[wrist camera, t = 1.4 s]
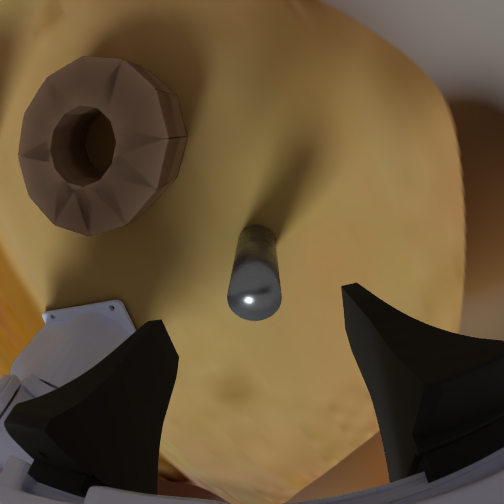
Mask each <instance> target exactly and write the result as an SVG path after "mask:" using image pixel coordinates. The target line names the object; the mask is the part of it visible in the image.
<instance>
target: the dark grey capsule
mask: <svg viewBox="0 0 504 504" xmlns="http://www.w3.org/2000/svg"><path fill="white" fill-rule="evenodd" d="M227 300H228V304H229V306H230V308H231V310H232V311H233V312H234V313H235V314H236V315H238V316H239V317H241V318H243V319H246V320H251V321H258V320H263V319H266V318H268V317H270V316H272V315H273V314H274V313H275V312H276V311H277V310H278V308H279V307H280V304H281V300H282V296H281V287H280V278H279V269H278V260H277V251H276V243H275V237H274V235H273V233H272V232H271V231H270V230H269V229H268V228H267V227H265V226H262V225H251V226H249V227H247V228H245V229H244V230H243V231H242V232H241V234H240V236H239V239H238V244H237V249H236V254H235V259H234V264H233V269H232V274H231V279H230V284H229V289H228V294H227Z"/></svg>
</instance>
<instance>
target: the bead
mask: <svg viewBox="0 0 504 504" xmlns="http://www.w3.org/2000/svg"><path fill="white" fill-rule="evenodd" d="M101 112H102V113H103V114H104V115H105V116H106V117H107V118H108V119H109V120H110V121H111V124H112V128H113V132H114V136H115V140H116V145H115V150H114V155H113V161H112V165H111V166H110V167H109V168H108V170H107V171H106V172H105V173H104V172H100V171H98V170H97V169H96V168H95V167H94V166H93V164H92V163H91V162H90V161H89V160H88V157H87V153H86V149H85V145H84V143H85V138H86V132H87V128H88V126H89V125H90V124H91V122H92V121H93V119H94V118H95V117H96V116H97V114H99V113H101ZM24 114H25V115H24V117H23V123H22V130H21V137H20V144H19V153H18V156H19V157H18V158H19V162H20V166H21V170H22V174H23V178H24V181H25V185H26V188H27V191H28V195H30V196H29V197H30V198H31V199H32V200H33V202H34V203H35V204H36V205H37V206H38V207H39V209H40V210H41V211H42V212H43V213H44V214H45V215H46V216H47V218H48V219H49V220H50V221H51V222H52V223H53V224H55V225H56V226H59V227H62V228H65V229H68V230H71V231H74V232H77V233H80V234H83V235H86V236H92V235H95V234H99V233H102V232H105V231H109V230H112V229H115V228H119V227H122V226H126V225H127V224H128V223H130V222H131V221H132V220H134V219H135V218H136V217H137V216H139V215H140V214H141V213H143V212H144V211H145V210H147V209H148V208H149V207H151V206H152V204H153V203H154V202H155V201H156V200H157V199H158V198H159V197H160V196H161V194H162V193H163V192H164V191H165V190H166V189H167V188H168V187H169V186H170V185H171V184H172V182H173V181H174V180H175V179H176V177H177V176H178V172H179V168H180V164H181V160H182V156H183V152H184V148H185V144H186V140H187V137H185V136H187V132H186V128H185V125H184V121H183V117H182V113H181V109H180V105H179V101H178V97H177V96H176V95H175V94H174V93H173V92H172V91H171V90H170V89H169V88H168V87H167V86H166V85H165V84H163V83H162V82H161V81H160V80H159V79H158V78H157V77H156V76H155V75H154V74H153V73H151V72H150V71H149V70H147V69H144V68H142V67H140V66H138V65H136V64H133V63H131V62H129V61H126V60H124V59H119V58H106V57H88V56H83V57H80V58H79V59H77V60H75V61H73V62H72V63H70V64H68V65H66V66H65V67H63V68H61V69H60V70H58V71H56V72H55V73H53V74H52V75H50V76H48V77H47V78H46V80H45V81H44V83H43V84H42V86H41V87H40V89H39V90H38V92H37V93H36V95H35V97H34V98H33V100H32V101H31V103H30V105H29V107H28V108H27V110H26V112H25V113H24Z"/></svg>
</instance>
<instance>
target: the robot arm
mask: <svg viewBox="0 0 504 504" xmlns="http://www.w3.org/2000/svg"><path fill="white" fill-rule="evenodd" d="M341 288H342V297H343V307H344V318H345V329H346V332H347V336H348V340H349V343H350V346H351V350H352V352H353V355H354V357H355V359H356V362H357V364H358V367H359V369H360V371H361V374H362V376H363V378H364V381H365V383H366V386H367V388H368V390H369V393H370V396H371V399H372V402H373V405H374V409H375V413H376V416H377V420H378V424H379V429H380V433H381V437H382V442H383V446H384V451H385V456H386V462H387V467H388V473H389V479H390V483H387V484H384V485H380V486H377V487H373V488H369V489H366V490H361V491H357V492H352V493H348V494H343V495H338V496H333V497H328V498H322V499H315V500H309V501H302V502H294V503H284V504H504V341H501V340H491V339H481V338H474V337H469V336H465V335H460V334H456V333H452V332H448V331H445V330H442V329H439V328H436V327H433V326H430V325H428V324H425V323H423V322H421V321H419V320H416V319H414V318H412V317H410V316H408V315H406V314H404V313H402V312H401V311H399V310H397V309H395V308H393V307H392V306H390V305H389V304H387V303H385V302H384V301H382V300H381V299H379V298H378V297H376V296H375V295H373V294H372V293H371V292H369V291H368V290H366V289H365V288H364V287H362V286H361V285H359V284H358V283H353V284H349V285H344V286H341ZM111 305H112V306H113V307H114V308H112V307H111ZM53 315H54V316H53ZM42 317H43V319H44V321H45V323H46V324H45V325H44V326H43V328H42V329H41V330H40V331H39V332H38V333H37V334H36V335H35V337H34V338H33V339H32V340H31V341H30V342H29V344H28V345H27V346H26V347H25V348H24V349H23V351H22V352H21V353H20V354H19V355H18V357H17V358H16V359H15V361H14V363H13V365H12V368H11V372H10V375H3V376H2V377H1V378H0V504H227V503H223V502H219V501H214V500H205V499H196V498H184V497H172V496H162V495H157V473H158V457H159V447H160V440H161V433H162V427H163V422H164V418H165V415H166V411H167V408H168V404H169V401H170V398H171V394H172V391H173V387H174V384H175V380H176V376H177V369H178V361H179V356H178V354H177V352H176V350H175V348H174V346H173V343H172V341H171V339H170V337H169V335H168V333H167V331H166V328H165V326H164V324H163V322H162V319H161V320H154V321H148V322H147V323H145V324H144V325H143V326H141V327H140V328H139V329H138V330H137V331H136V329H135V327H134V325H133V323H132V321H131V319H130V317H129V315H128V312H127V310H126V308H125V306H124V304H123V302H122V301H120V300H110V301H104V302H99V303H93V304H87V305H81V306H75V307H69V308H63V309H57V310H51V311H45V312H44V313H43V314H42Z"/></svg>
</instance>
